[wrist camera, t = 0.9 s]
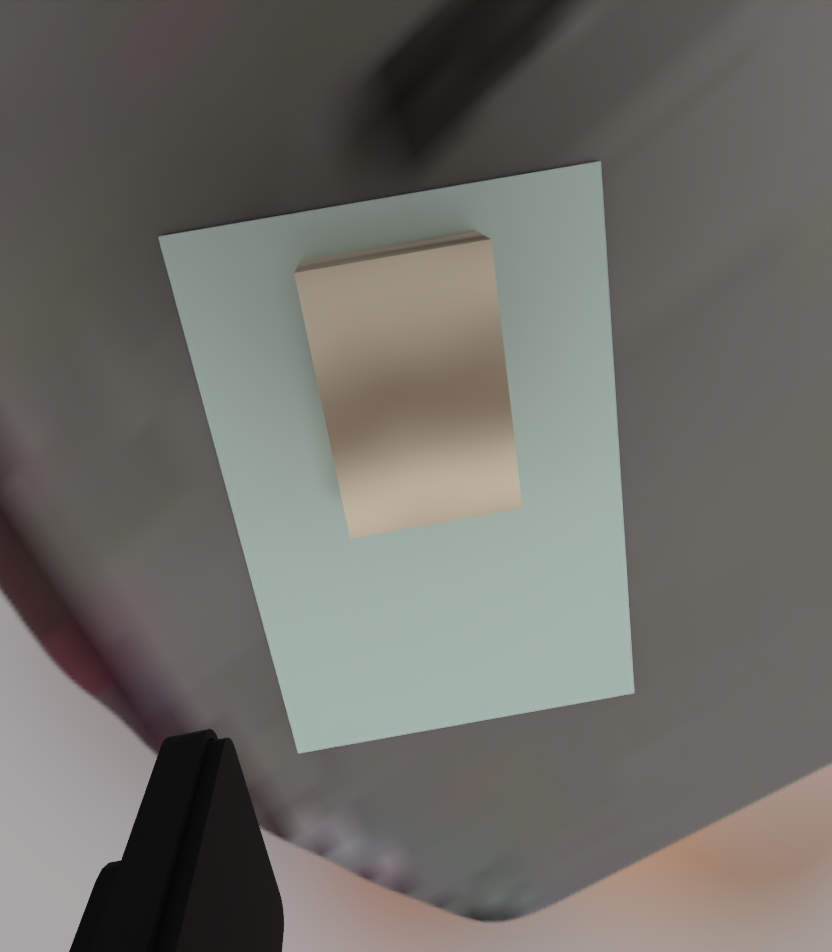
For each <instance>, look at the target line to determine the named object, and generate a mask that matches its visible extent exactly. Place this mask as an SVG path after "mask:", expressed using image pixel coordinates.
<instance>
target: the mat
mask: <svg viewBox="0 0 832 952" xmlns="http://www.w3.org/2000/svg"><path fill="white" fill-rule="evenodd" d="M472 230H475V231H477V232H479V233H481V234H483V235H485V236H486V237H488V238H490V239H491V240H492V249H493V258H494V266H495V275H496V283H497V292H498V301H499V309H500V318H501V326H502V335H503V344H504V352H505V361H506V369H507V378H508V387H509V395H510V404H511V412H512V421H513V430H514V438H515V447H516V455H517V464H518V473H519V481H520V490H521V498H522V507H523V509H517V510H511V511H506V512H500V513H494V514H489V515H483V516H477V517H472V518H466V519H460V520H455V521H449V522H443V523H438V524H432V525H426V526H421V527H415V528H409V529H403V530H398V531H392V532H386V533H381V534H375V535H369V536H364V537H358V538H352V539H350V535H349V531H348V526H347V521H346V516H345V512H344V507H343V502H342V497H341V493H340V488H339V483H338V479H337V474H336V469H335V464H334V460H333V455H332V450H331V445H330V441H329V436H328V431H327V426H326V422H325V417H324V412H323V408H322V403H321V398H320V393H319V389H318V384H317V379H316V374H315V370H314V365H313V360H312V356H311V351H310V346H309V341H308V337H307V332H306V327H305V322H304V318H303V313H302V308H301V304H300V299H299V294H298V289H297V285H296V280H295V275H294V272H295V270H296V268H297V266H298V265H299V263H300V261H301V260H303V259H309V258H315V257H320V256H326V255H332V254H338V253H344V252H350V251H355V250H361V249H367V248H373V247H379V246H385V245H390V244H396V243H402V242H408V241H414V240H420V239H425V238H431V237H437V236H443V235H449V234H454V233H460V232H466V231H472ZM158 239H159V242H160V246H161V250H162V253H163V257H164V261H165V264H166V268H167V272H168V275H169V279H170V283H171V287H172V290H173V294H174V298H175V301H176V305H177V309H178V312H179V316H180V320H181V323H182V327H183V331H184V335H185V338H186V342H187V346H188V349H189V353H190V357H191V360H192V364H193V368H194V371H195V375H196V379H197V382H198V386H199V390H200V394H201V397H202V401H203V405H204V408H205V412H206V416H207V419H208V423H209V427H210V430H211V434H212V438H213V441H214V445H215V449H216V453H217V456H218V460H219V464H220V467H221V471H222V475H223V478H224V482H225V486H226V489H227V493H228V497H229V500H230V504H231V508H232V512H233V515H234V519H235V523H236V526H237V530H238V534H239V537H240V541H241V545H242V548H243V552H244V556H245V560H246V563H247V567H248V571H249V574H250V578H251V582H252V585H253V589H254V593H255V596H256V600H257V604H258V607H259V611H260V615H261V619H262V622H263V626H264V630H265V633H266V637H267V641H268V644H269V648H270V652H271V655H272V659H273V663H274V666H275V670H276V674H277V678H278V681H279V685H280V689H281V692H282V696H283V700H284V703H285V707H286V711H287V714H288V718H289V722H290V725H291V729H292V733H293V737H294V740H295V744H296V748H297V751H298V753H304V752H310V751H315V750H321V749H326V748H332V747H337V746H343V745H349V744H354V743H360V742H365V741H371V740H377V739H382V738H388V737H393V736H399V735H404V734H410V733H416V732H421V731H427V730H432V729H438V728H443V727H449V726H455V725H460V724H466V723H471V722H477V721H482V720H488V719H494V718H499V717H505V716H510V715H516V714H521V713H527V712H533V711H538V710H544V709H549V708H555V707H560V706H566V705H572V704H577V703H583V702H588V701H594V700H600V699H605V698H611V697H616V696H622V695H627V694H633V693H634V678H633V662H632V646H631V630H630V615H629V599H628V583H627V567H626V551H625V535H624V519H623V503H622V488H621V472H620V456H619V440H618V424H617V408H616V392H615V377H614V361H613V345H612V329H611V313H610V297H609V281H608V265H607V250H606V234H605V218H604V202H603V186H602V170H601V161H596V162H590V163H584V164H579V165H573V166H567V167H561V168H555V169H549V170H543V171H538V172H532V173H526V174H520V175H514V176H508V177H502V178H497V179H491V180H485V181H479V182H473V183H467V184H461V185H456V186H450V187H444V188H438V189H432V190H426V191H420V192H415V193H409V194H403V195H397V196H391V197H385V198H379V199H374V200H368V201H362V202H356V203H350V204H344V205H338V206H333V207H327V208H321V209H315V210H309V211H303V212H297V213H292V214H286V215H280V216H274V217H268V218H262V219H256V220H250V221H245V222H239V223H233V224H227V225H221V226H215V227H209V228H204V229H198V230H192V231H186V232H180V233H174V234H168V235H163V236H159V237H158Z"/></svg>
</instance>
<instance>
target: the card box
mask: <svg viewBox="0 0 832 952" xmlns="http://www.w3.org/2000/svg"><path fill="white" fill-rule="evenodd" d="M294 275H295V280H296V285H297V289H298V294H299V299H300V304H301V308H302V313H303V318H304V322H305V327H306V332H307V337H308V341H309V346H310V351H311V356H312V360H313V365H314V370H315V374H316V379H317V384H318V389H319V393H320V398H321V403H322V408H323V412H324V417H325V422H326V426H327V431H328V436H329V441H330V445H331V450H332V455H333V460H334V464H335V469H336V474H337V479H338V483H339V488H340V493H341V497H342V502H343V507H344V512H345V516H346V521H347V526H348V531H349V535H350V539H352V538H358V537H364V536H369V535H375V534H381V533H386V532H392V531H398V530H403V529H409V528H415V527H421V526H426V525H432V524H438V523H443V522H449V521H455V520H460V519H466V518H472V517H477V516H483V515H489V514H494V513H500V512H506V511H511V510H517V509H523V507H522V498H521V490H520V481H519V473H518V464H517V455H516V447H515V438H514V430H513V421H512V412H511V404H510V395H509V387H508V378H507V369H506V361H505V352H504V344H503V335H502V326H501V318H500V309H499V301H498V292H497V283H496V275H495V266H494V258H493V249H492V240H491V239H490V238H488V237H486V236H485V235H483V234H481V233H479V232H477V231H475V230H472V231H466V232H460V233H454V234H449V235H443V236H437V237H431V238H425V239H420V240H414V241H408V242H402V243H396V244H390V245H385V246H379V247H373V248H367V249H361V250H355V251H350V252H344V253H338V254H332V255H326V256H320V257H315V258H309V259H303V260H301V261H300V263H299V265H298V266H297V268H296V270H295V272H294Z"/></svg>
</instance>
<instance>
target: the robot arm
mask: <svg viewBox="0 0 832 952" xmlns="http://www.w3.org/2000/svg"><path fill="white" fill-rule="evenodd" d="M283 932H284V915H283V906H282V900H281V896H280V892H279V889H278V886H277V883H276V880H275V876H274V873H273V870H272V867H271V863H270V860H269V857H268V854H267V850H266V847H265V844H264V841H263V837H262V834H261V831H260V828H259V824H258V821H257V818H256V815H255V811H254V808H253V805H252V802H251V799H250V795H249V792H248V789H247V786H246V782H245V779H244V776H243V773H242V769H241V766H240V763H239V760H238V756H237V753H236V750H235V747H234V744H233V742H232V740H231V739H230V738H224V739H219V740H218V738H217V735H216V734H215V732H214V731H213V730H211V729H208V730H202V731H197V732H192V733H187V734H182V735H177V736H172V737H168V738H166V739H164V741H163V743H162V745H161V748H160V751H159V754H158V757H157V760H156V762H155V765H154V768H153V771H152V774H151V777H150V780H149V783H148V785H147V788H146V791H145V794H144V797H143V800H142V803H141V805H140V808H139V811H138V814H137V817H136V820H135V823H134V825H133V828H132V831H131V834H130V837H129V840H128V843H127V846H126V849H125V851H124V854H123V857H122V860H121V861H116V862H111V863H108V864H107V865H106V866H105V867H104V868H103V869H102V870H101V872H100V874H99V876H98V878H97V880H96V882H95V885H94V887H93V890H92V893H91V895H90V898H89V901H88V903H87V906H86V909H85V911H84V914H83V916H82V919H81V922H80V924H79V927H78V930H77V933H76V935H75V938H74V941H73V943H72V946H71V948H70V951H69V952H282V943H283Z"/></svg>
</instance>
